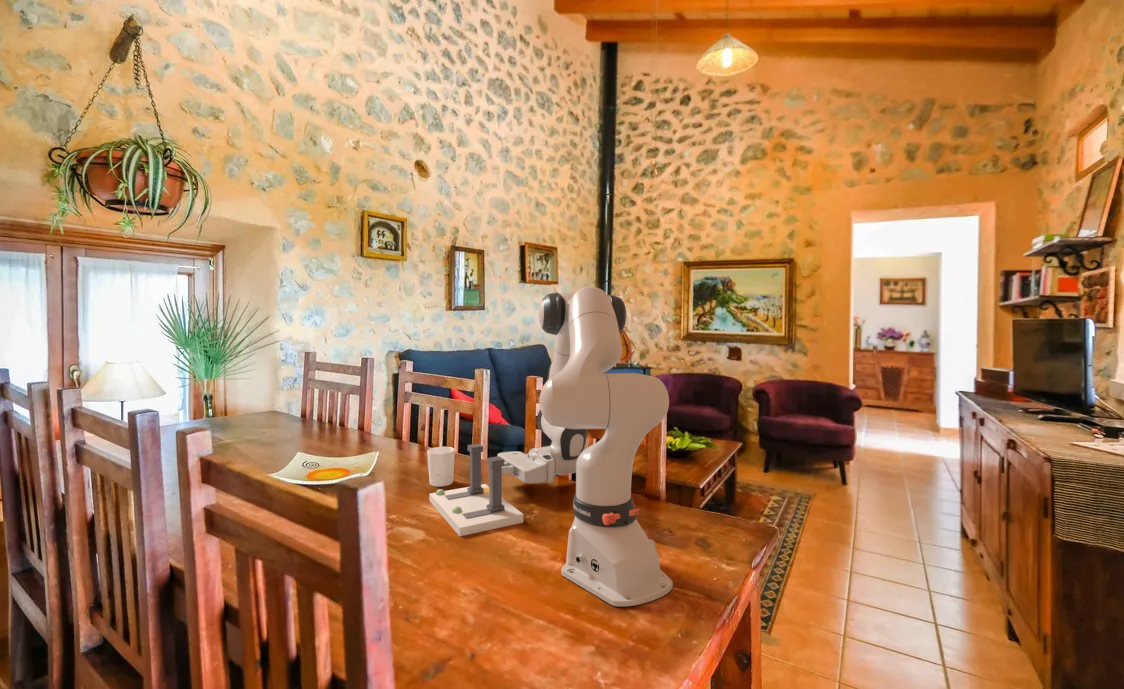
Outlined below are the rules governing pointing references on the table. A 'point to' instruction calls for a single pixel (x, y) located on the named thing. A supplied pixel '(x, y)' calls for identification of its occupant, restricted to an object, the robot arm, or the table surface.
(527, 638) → the table surface
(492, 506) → the post
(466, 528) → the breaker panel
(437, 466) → the white cup
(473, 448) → the post
